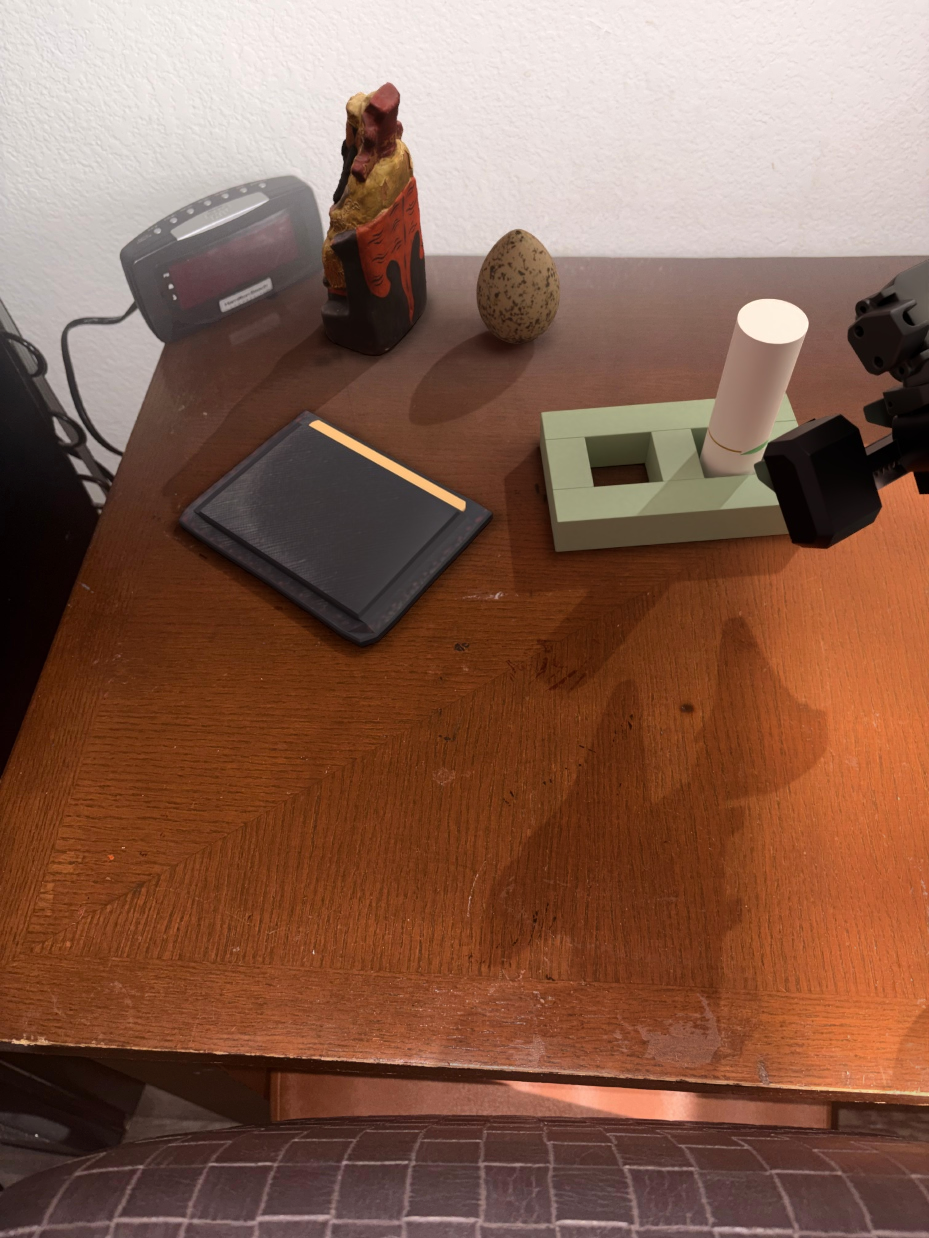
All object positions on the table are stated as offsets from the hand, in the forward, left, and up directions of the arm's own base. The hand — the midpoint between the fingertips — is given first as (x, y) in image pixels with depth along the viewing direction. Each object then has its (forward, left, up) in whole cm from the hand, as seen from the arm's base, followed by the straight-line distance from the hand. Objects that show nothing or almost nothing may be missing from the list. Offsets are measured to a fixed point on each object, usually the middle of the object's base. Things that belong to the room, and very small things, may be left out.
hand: (812, 441), depth 54 cm
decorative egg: (+17, -24, -10) cm, 31 cm away
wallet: (+33, -4, -10) cm, 34 cm away
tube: (+3, -5, -10) cm, 11 cm away
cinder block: (+7, -5, -9) cm, 13 cm away
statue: (+30, -27, -10) cm, 41 cm away
